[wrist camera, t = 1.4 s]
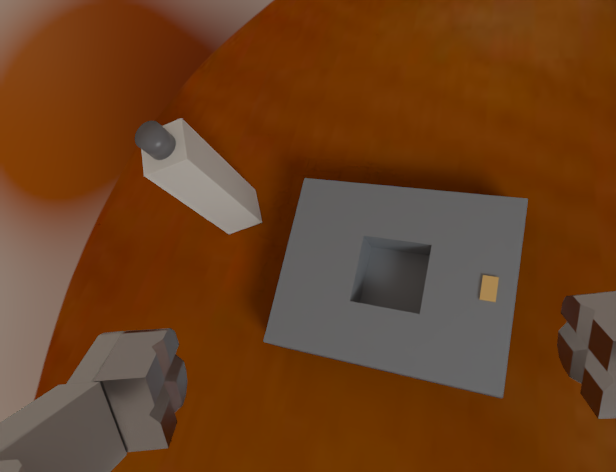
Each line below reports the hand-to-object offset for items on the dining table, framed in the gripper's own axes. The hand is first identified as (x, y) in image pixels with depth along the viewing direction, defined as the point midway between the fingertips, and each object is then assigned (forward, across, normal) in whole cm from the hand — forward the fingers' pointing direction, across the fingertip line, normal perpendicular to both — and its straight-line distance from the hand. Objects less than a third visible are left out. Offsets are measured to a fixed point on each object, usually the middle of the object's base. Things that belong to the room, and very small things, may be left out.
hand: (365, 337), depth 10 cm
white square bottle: (+40, +10, +13) cm, 44 cm away
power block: (+31, -5, +18) cm, 36 cm away
